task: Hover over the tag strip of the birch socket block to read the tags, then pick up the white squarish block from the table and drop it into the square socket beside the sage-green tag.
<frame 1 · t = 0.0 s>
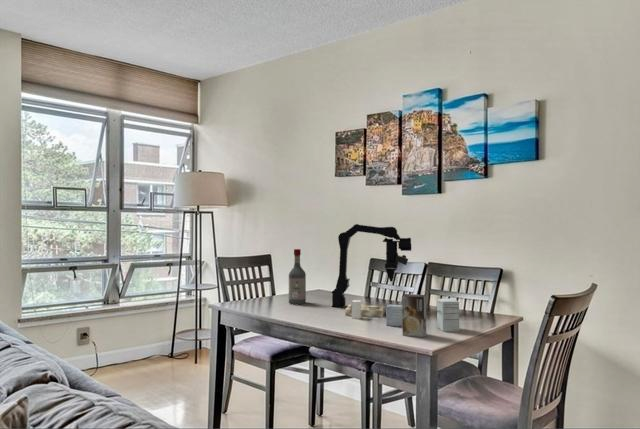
hand: (391, 280, 252), 15 cm above the table, tool pointing down, fingers open, 9 cm apart
socket block: (365, 313, 238), on the table
coffee box: (414, 335, 195), on the table
supplement box: (448, 330, 204), on the table
white squarish block: (356, 317, 228), on the table
liquor: (297, 303, 267), on the table
medicine box: (396, 325, 212), on the table
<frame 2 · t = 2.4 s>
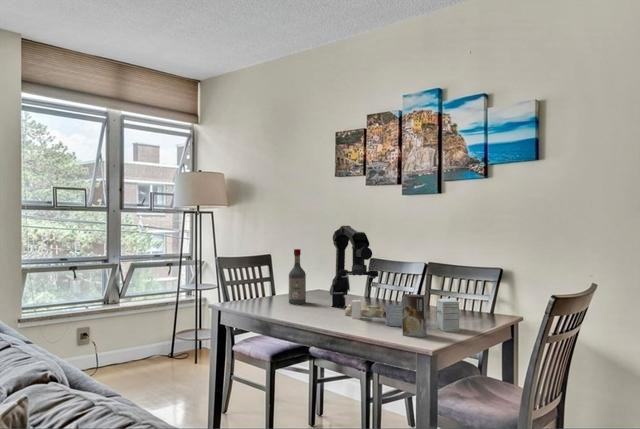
hand: (358, 291, 229), 12 cm above the table, tool pointing down, fingers open, 9 cm apart
nothing on the table moved.
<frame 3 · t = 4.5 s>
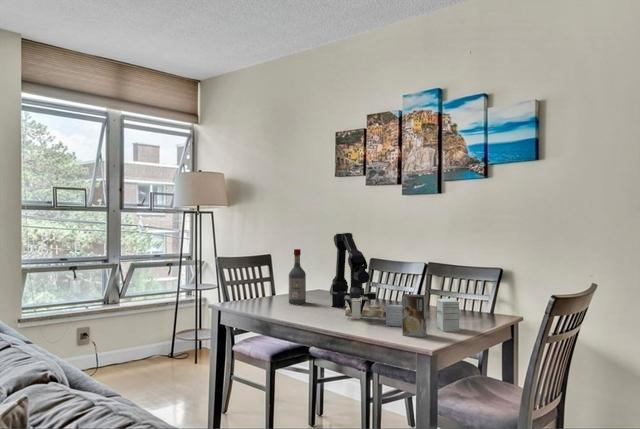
hand: (356, 313, 228), 2 cm above the table, tool pointing down, fingers closed on white squarish block, 4 cm apart
white squarish block: (356, 317, 228), on the table, touching gripper
everything else where it was.
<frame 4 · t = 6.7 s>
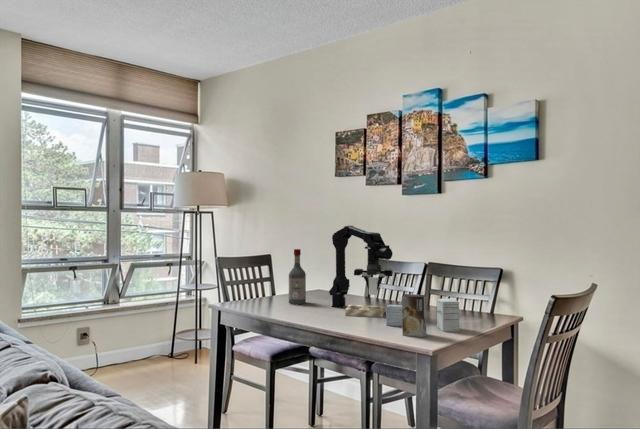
hand: (373, 289, 237), 12 cm above the table, tool pointing down, fingers closed on white squarish block, 4 cm apart
white squarish block: (373, 294, 237), point 10 cm above the table, touching gripper
everything else where it was.
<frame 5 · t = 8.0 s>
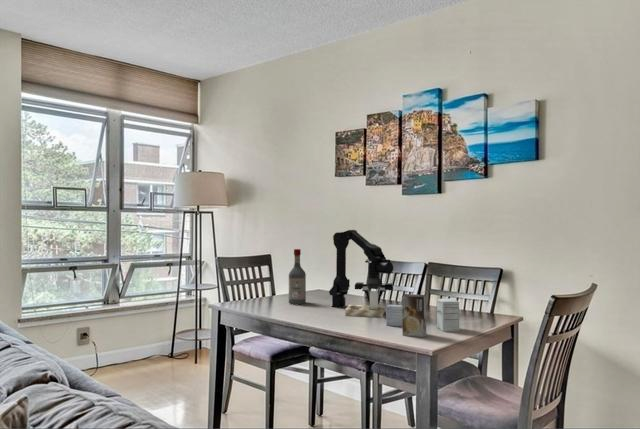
hand: (374, 303, 237), 5 cm above the table, tool pointing down, fingers closed on white squarish block, 4 cm apart
white squarish block: (374, 307, 237), point 3 cm above the table, touching gripper
everything else where it was.
when the fingers open (4 cm above the table, at t = 8.8 s): white squarish block drops 2 cm, resting in socket block.
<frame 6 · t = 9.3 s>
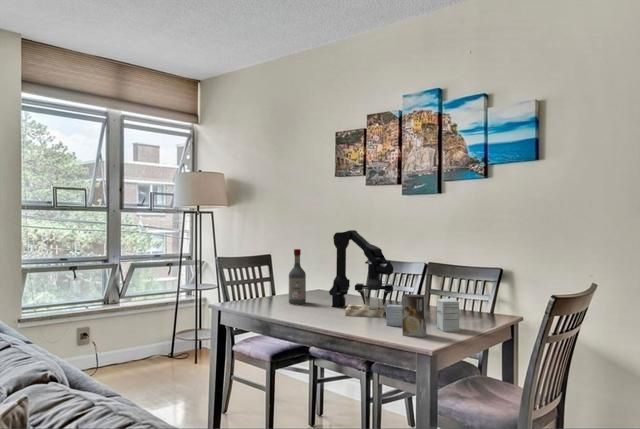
hand: (374, 304, 237), 4 cm above the table, tool pointing down, fingers open, 9 cm apart
white squarish block: (374, 314, 237), resting in socket block
everything else where it was.
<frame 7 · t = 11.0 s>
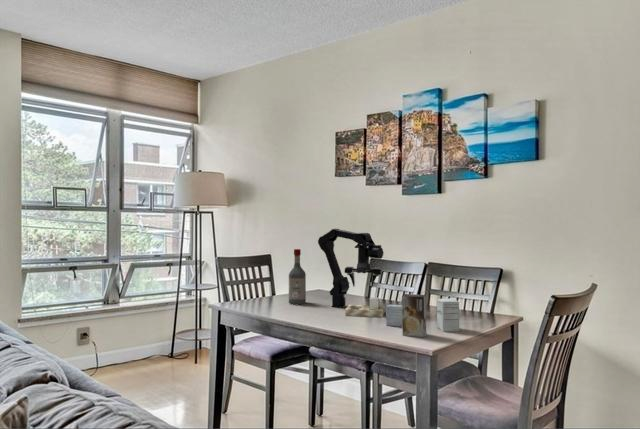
hand: (362, 287, 248), 12 cm above the table, tool pointing down, fingers open, 9 cm apart
nothing on the table moved.
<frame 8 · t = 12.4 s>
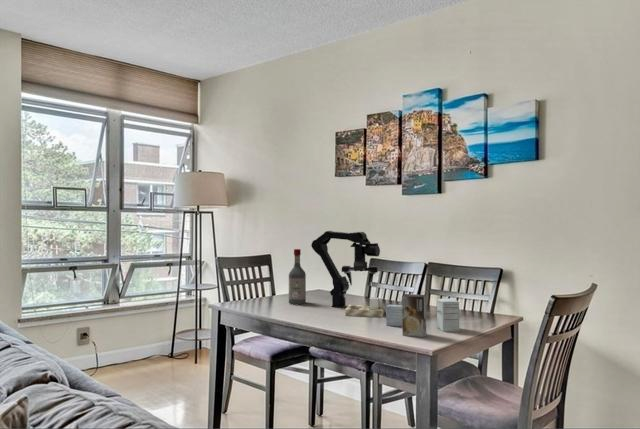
hand: (359, 285, 252), 12 cm above the table, tool pointing down, fingers open, 9 cm apart
nothing on the table moved.
at the end: white squarish block 0.1 cm from the target spot on the socket block, point 0.0 cm above the socket block's base; white squarish block tilted 0°; the gripper is holding nothing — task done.
